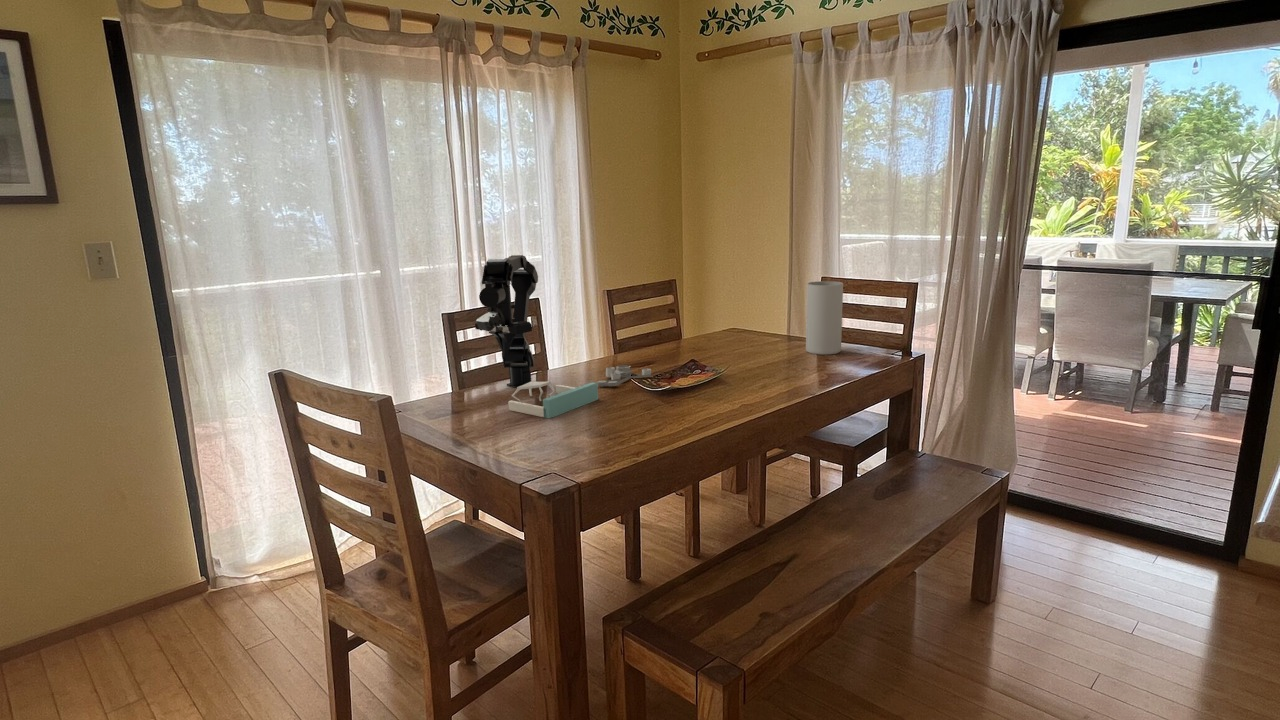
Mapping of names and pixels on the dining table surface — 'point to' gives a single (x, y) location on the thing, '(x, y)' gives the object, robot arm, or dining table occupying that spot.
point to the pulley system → (622, 375)
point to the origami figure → (533, 385)
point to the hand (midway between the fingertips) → (505, 354)
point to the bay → (559, 401)
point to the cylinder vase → (824, 317)
